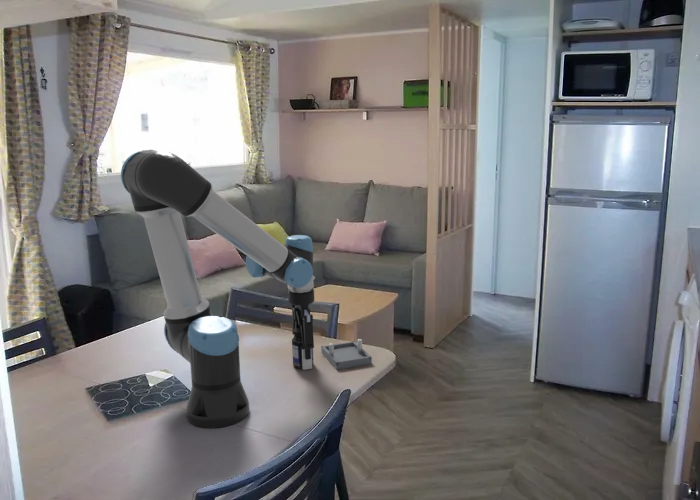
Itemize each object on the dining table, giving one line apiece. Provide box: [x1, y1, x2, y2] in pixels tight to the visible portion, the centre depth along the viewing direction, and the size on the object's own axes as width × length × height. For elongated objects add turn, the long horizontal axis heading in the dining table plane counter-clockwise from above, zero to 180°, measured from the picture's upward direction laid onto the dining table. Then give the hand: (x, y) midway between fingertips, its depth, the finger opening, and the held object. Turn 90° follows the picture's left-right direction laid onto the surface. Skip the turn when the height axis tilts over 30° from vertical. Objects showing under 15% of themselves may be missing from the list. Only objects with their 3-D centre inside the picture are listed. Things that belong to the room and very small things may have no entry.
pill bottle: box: [291, 327, 314, 369], centre depth 175 cm, size 6×6×11 cm
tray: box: [320, 338, 373, 370], centre depth 181 cm, size 14×11×5 cm
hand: (303, 364), depth 177 cm, fingers open, 6 cm apart
